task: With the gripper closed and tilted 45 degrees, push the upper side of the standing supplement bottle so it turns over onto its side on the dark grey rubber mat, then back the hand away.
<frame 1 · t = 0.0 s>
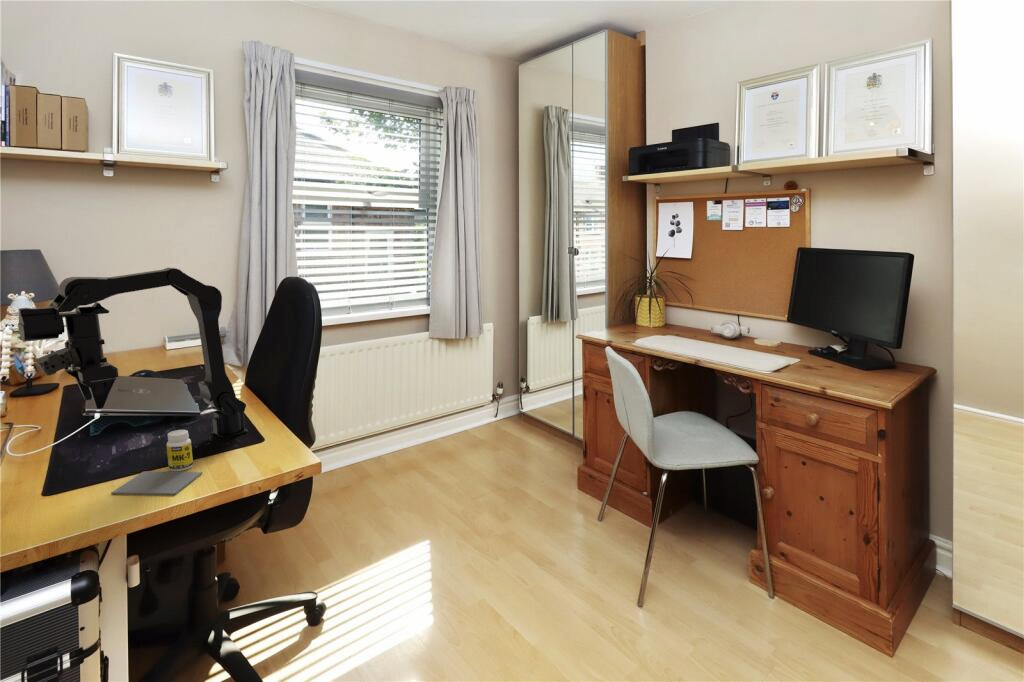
hand: (94, 404, 122), 15 cm above the table, tool pointing down, fingers open, 9 cm apart
supplement bottle: (181, 468, 125), on the table
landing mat: (159, 483, 117), on the table
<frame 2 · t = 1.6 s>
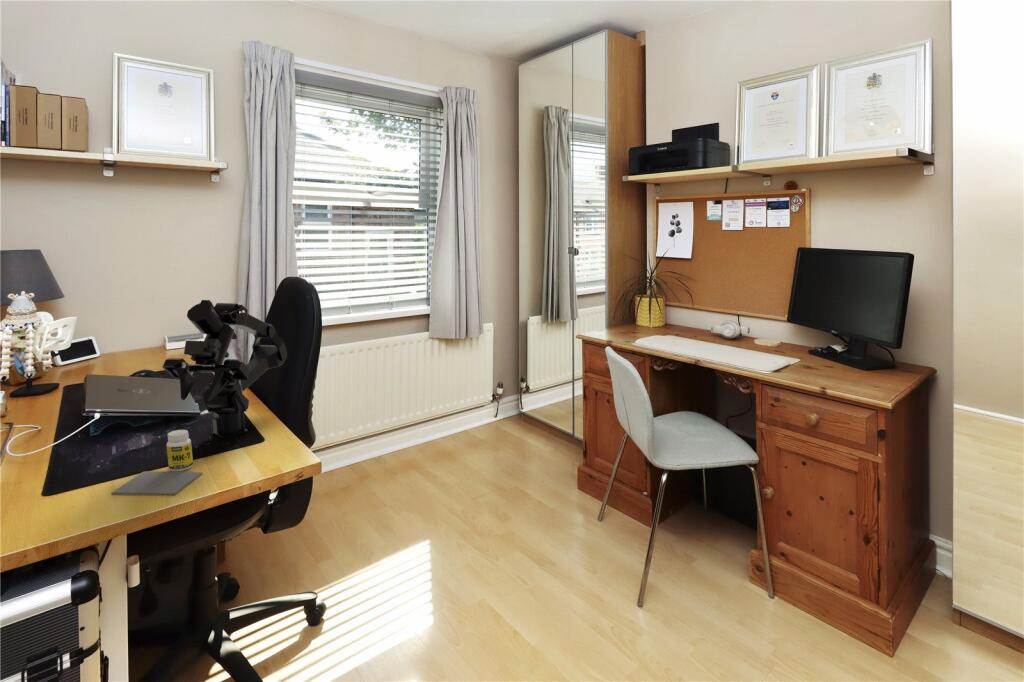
hand: (195, 399, 130), 14 cm above the table, tool tilted 45°, fingers open, 6 cm apart
nothing on the table moved.
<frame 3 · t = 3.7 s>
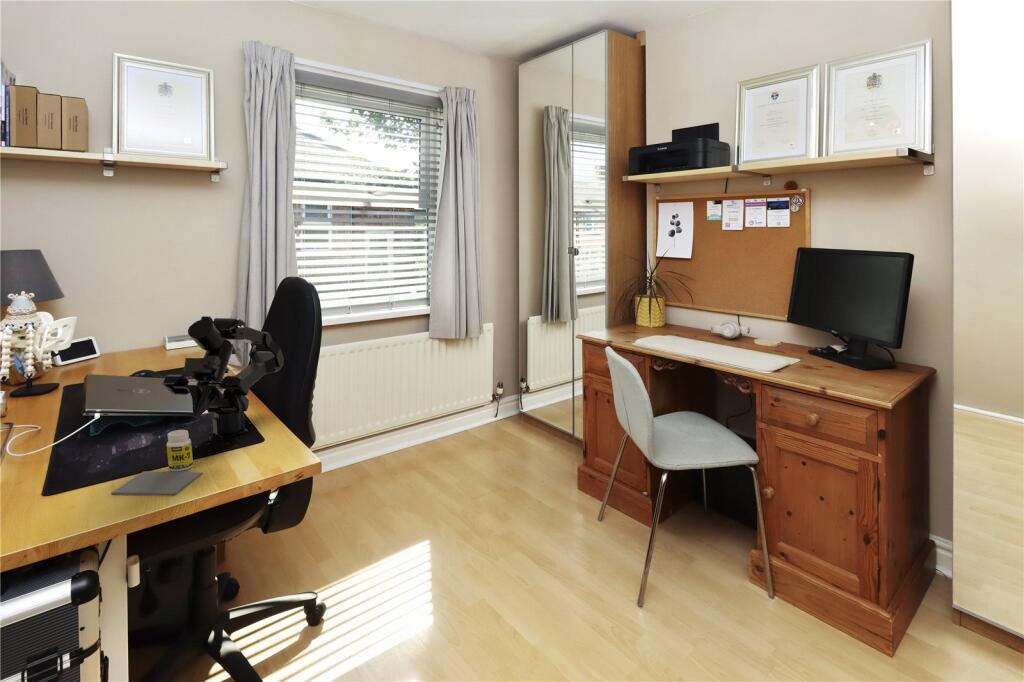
hand: (195, 416, 130), 10 cm above the table, tool tilted 45°, fingers closed
nothing on the table moved.
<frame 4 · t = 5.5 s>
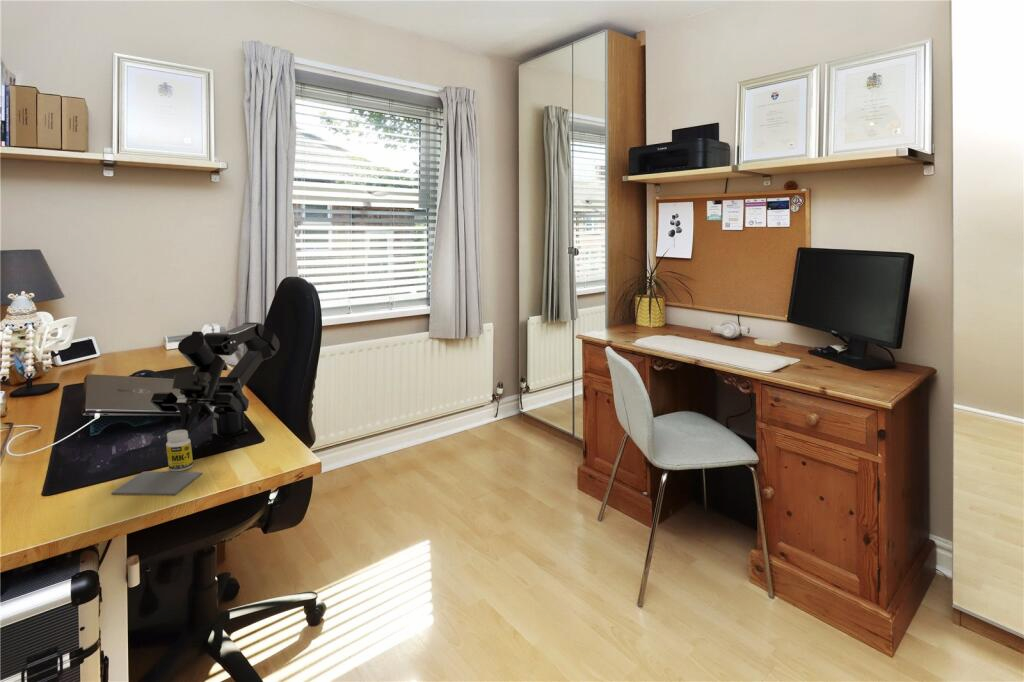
hand: (184, 435, 125), 7 cm above the table, tool tilted 45°, fingers closed, pressing on supplement bottle
supplement bottle: (181, 468, 125), on the table, touching gripper
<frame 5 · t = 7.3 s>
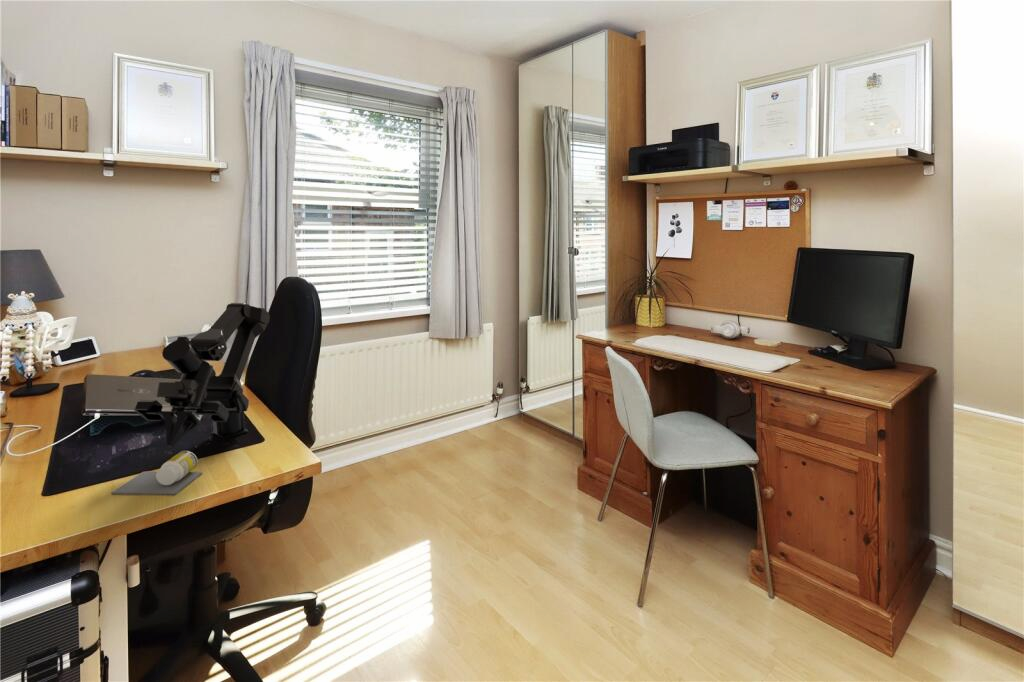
hand: (169, 445, 120), 7 cm above the table, tool tilted 45°, fingers closed
supplement bottle: (187, 459, 122), point 3 cm above the table, touching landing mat
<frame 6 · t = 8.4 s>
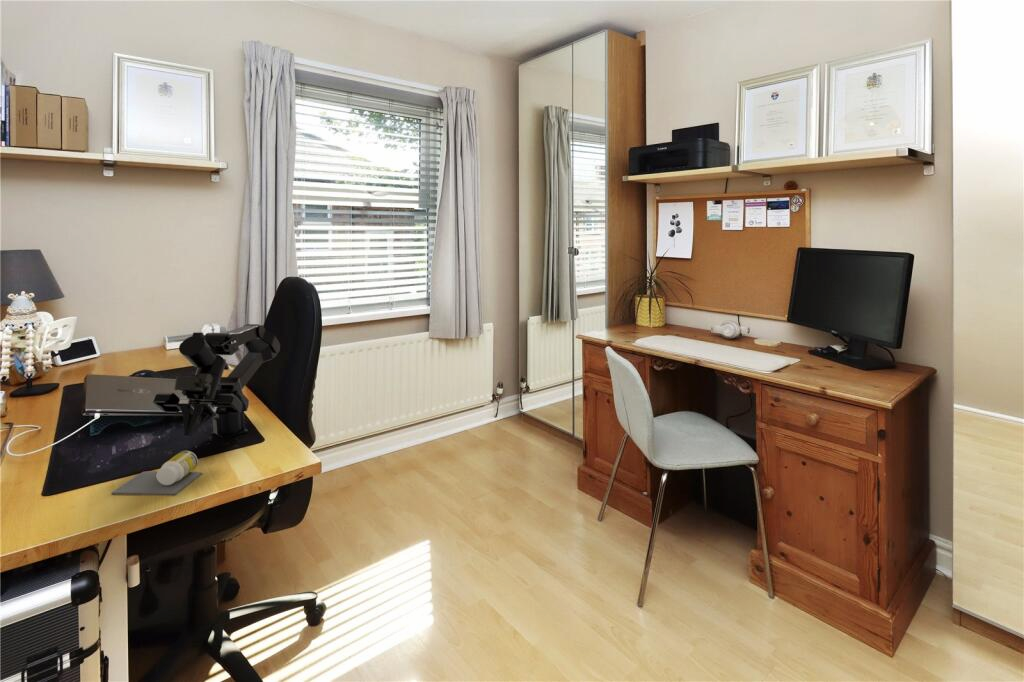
hand: (187, 436, 126), 6 cm above the table, tool tilted 45°, fingers closed
nothing on the table moved.
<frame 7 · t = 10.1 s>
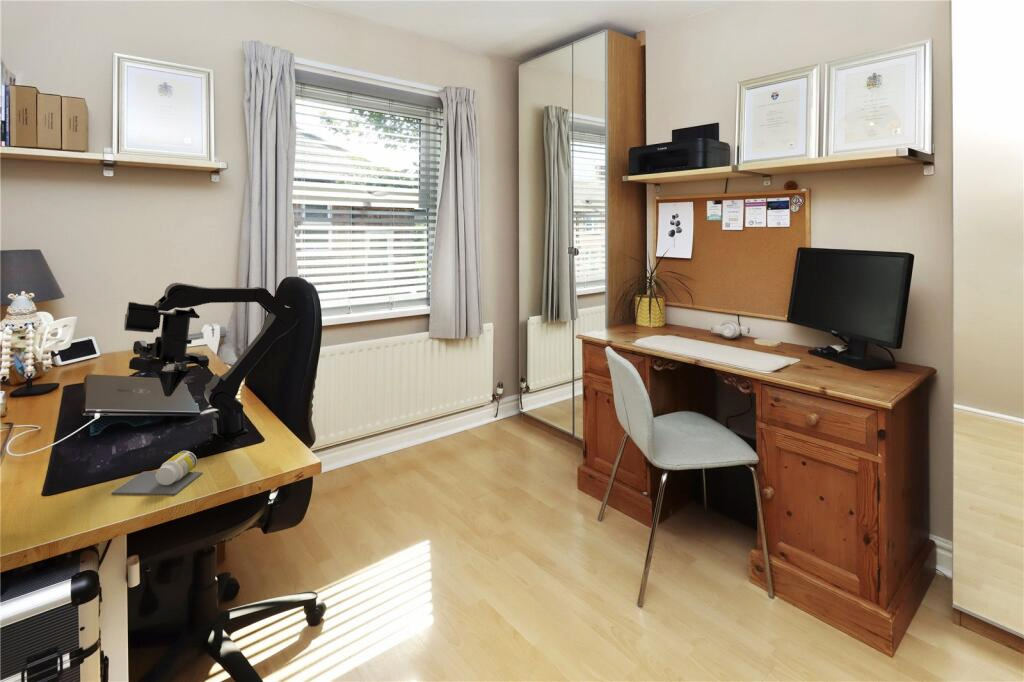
hand: (167, 396, 136), 13 cm above the table, tool pointing down, fingers closed
nothing on the table moved.
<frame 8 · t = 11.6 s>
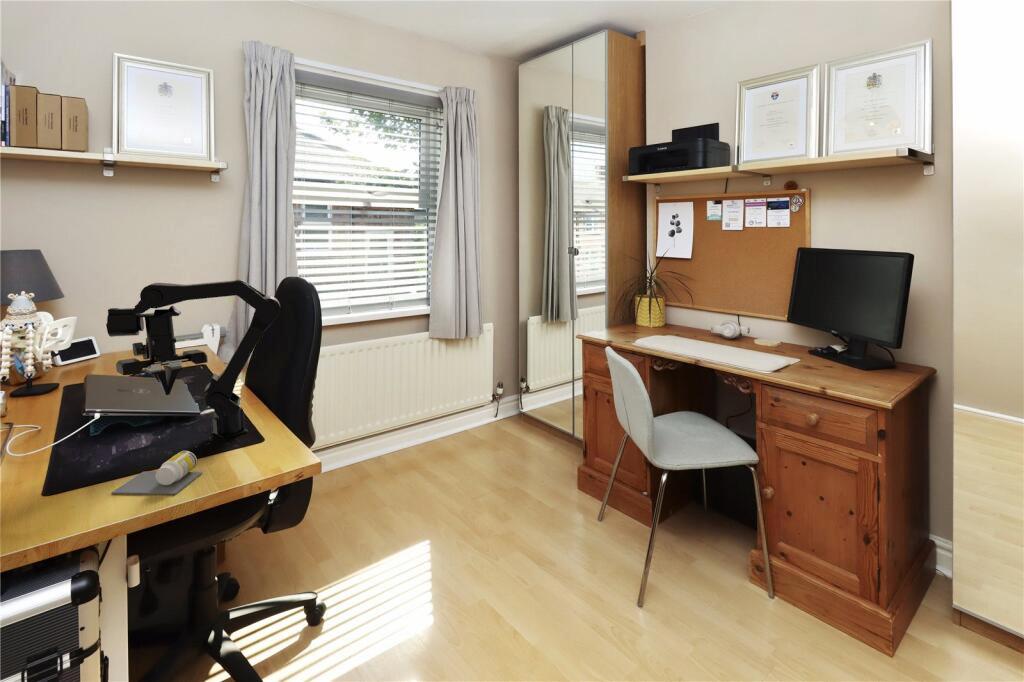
hand: (167, 394, 139), 12 cm above the table, tool pointing down, fingers closed
nothing on the table moved.
at the end: supplement bottle tilted 89°; supplement bottle 6.8 cm from the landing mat (horizontally) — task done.
